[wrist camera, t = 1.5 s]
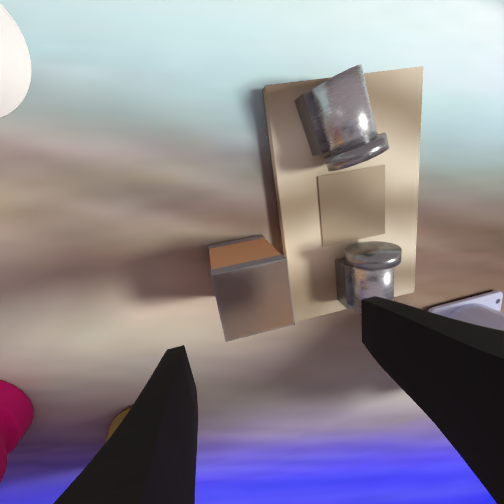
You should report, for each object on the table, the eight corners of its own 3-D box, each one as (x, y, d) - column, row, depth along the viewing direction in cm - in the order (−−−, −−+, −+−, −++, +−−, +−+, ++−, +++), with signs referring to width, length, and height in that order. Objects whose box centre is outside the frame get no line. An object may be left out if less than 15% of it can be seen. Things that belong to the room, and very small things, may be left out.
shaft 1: (355, 151, 19) (403, 143, 14) (311, 172, 19) (347, 170, 14) (336, 82, 17) (384, 49, 13) (288, 104, 17) (320, 78, 13)
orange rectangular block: (269, 283, 21) (295, 324, 15) (218, 295, 20) (225, 341, 14) (261, 234, 19) (287, 258, 14) (207, 245, 19) (210, 275, 13)
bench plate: (407, 288, 23) (415, 292, 22) (291, 317, 22) (295, 322, 21) (413, 70, 18) (424, 65, 17) (262, 89, 17) (266, 84, 16)
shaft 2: (369, 286, 22) (412, 314, 18) (331, 296, 22) (365, 327, 17) (368, 235, 21) (415, 250, 16) (327, 243, 21) (363, 262, 16)
